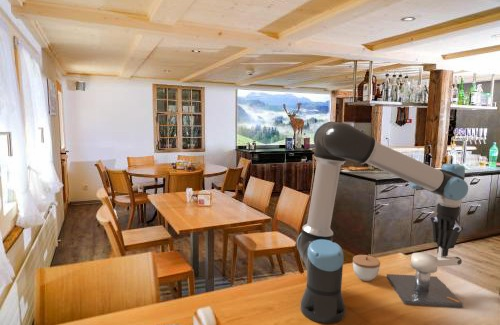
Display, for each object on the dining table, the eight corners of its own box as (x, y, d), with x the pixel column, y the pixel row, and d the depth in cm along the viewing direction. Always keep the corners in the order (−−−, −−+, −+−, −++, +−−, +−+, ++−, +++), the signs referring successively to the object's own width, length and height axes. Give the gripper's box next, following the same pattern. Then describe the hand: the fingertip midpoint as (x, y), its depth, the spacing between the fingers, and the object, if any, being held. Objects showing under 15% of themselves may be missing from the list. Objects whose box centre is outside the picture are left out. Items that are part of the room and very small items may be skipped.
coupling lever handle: (420, 273, 124) (421, 263, 123) (405, 262, 132) (406, 253, 132) (469, 270, 126) (470, 260, 126) (451, 260, 135) (452, 251, 135)
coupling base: (404, 304, 121) (406, 279, 120) (386, 277, 141) (388, 255, 139) (462, 307, 119) (465, 282, 118) (436, 280, 139) (438, 258, 138)
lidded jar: (347, 271, 145) (349, 251, 144) (371, 271, 146) (372, 250, 145) (358, 284, 135) (359, 262, 133) (383, 283, 136) (385, 261, 134)
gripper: (427, 200, 133) (420, 256, 137) (455, 210, 121) (447, 271, 125) (442, 199, 135) (435, 254, 139) (471, 209, 123) (463, 269, 127)
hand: (441, 262), depth 132 cm, fingers closed
